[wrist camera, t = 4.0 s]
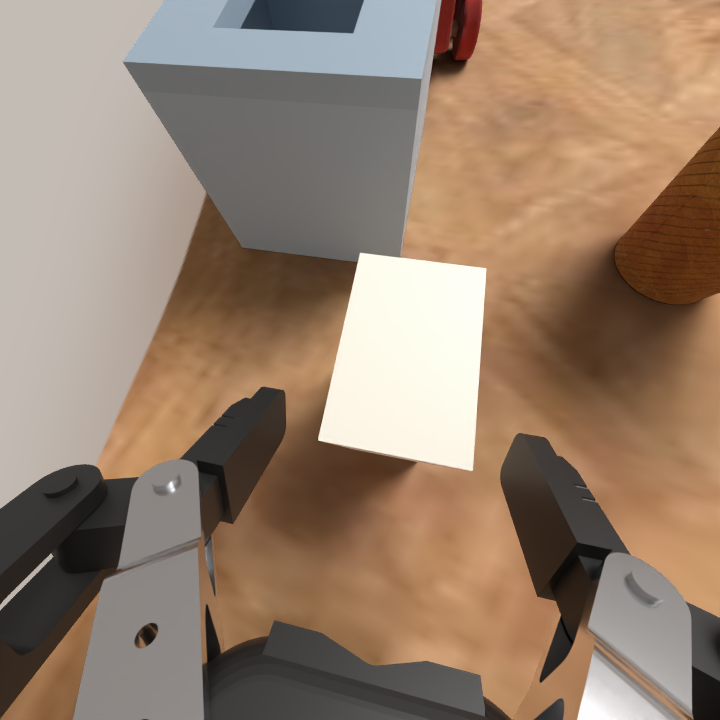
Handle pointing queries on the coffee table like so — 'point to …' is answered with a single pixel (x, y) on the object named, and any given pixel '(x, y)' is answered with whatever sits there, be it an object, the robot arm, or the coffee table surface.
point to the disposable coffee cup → (678, 235)
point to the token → (409, 362)
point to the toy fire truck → (458, 27)
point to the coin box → (296, 114)
